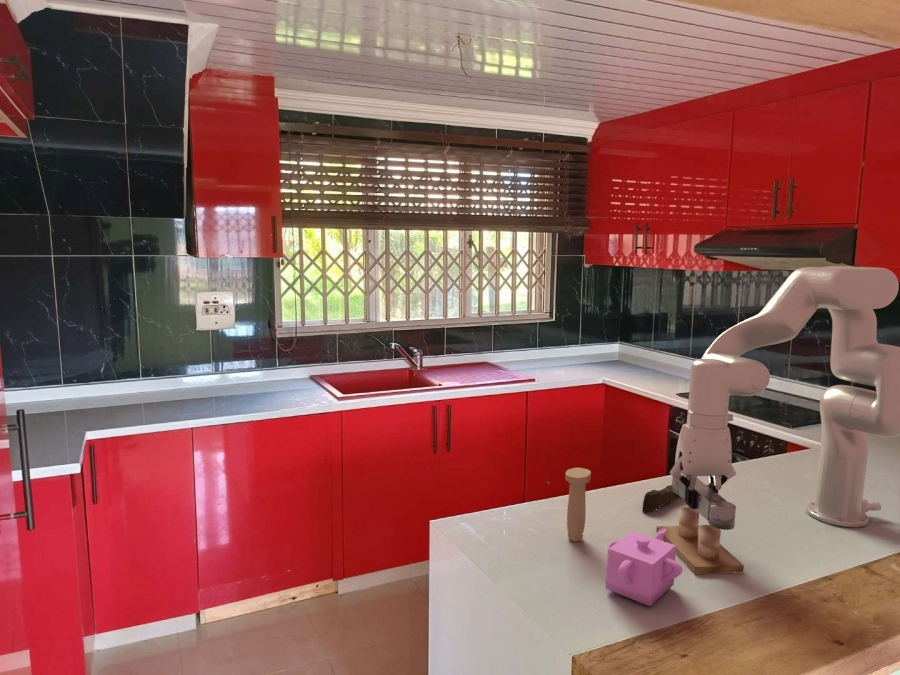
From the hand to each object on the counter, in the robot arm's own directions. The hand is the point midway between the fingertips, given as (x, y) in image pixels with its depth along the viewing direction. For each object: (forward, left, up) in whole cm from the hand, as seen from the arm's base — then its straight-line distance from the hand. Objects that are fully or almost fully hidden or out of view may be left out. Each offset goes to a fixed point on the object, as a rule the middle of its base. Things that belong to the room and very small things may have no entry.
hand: (700, 505), depth 131 cm
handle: (+24, -7, -10) cm, 27 cm away
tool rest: (0, 0, -10) cm, 10 cm away
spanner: (0, 0, 0) cm, 0 cm away
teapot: (+17, +14, -10) cm, 24 cm away
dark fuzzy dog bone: (-4, -25, -11) cm, 27 cm away
